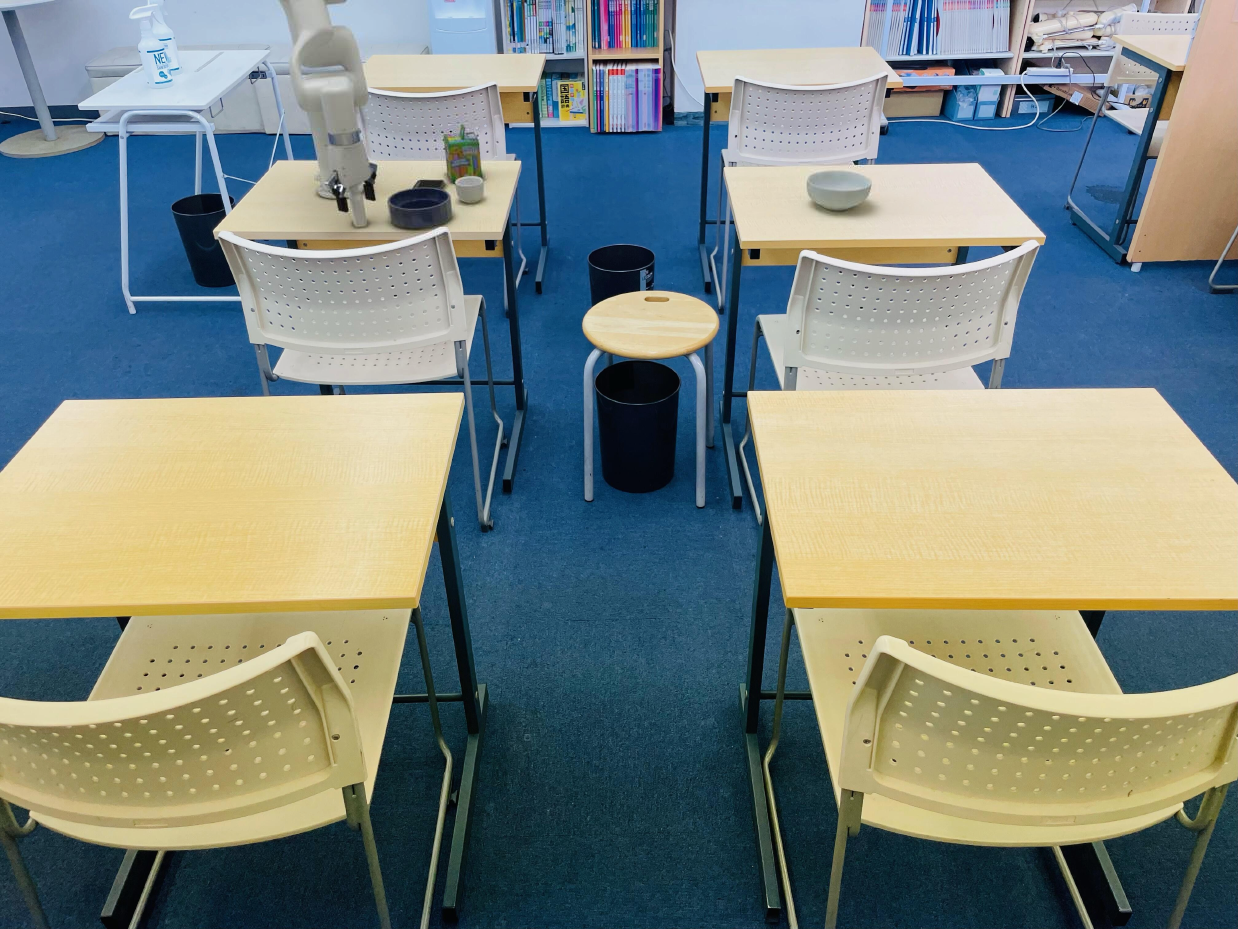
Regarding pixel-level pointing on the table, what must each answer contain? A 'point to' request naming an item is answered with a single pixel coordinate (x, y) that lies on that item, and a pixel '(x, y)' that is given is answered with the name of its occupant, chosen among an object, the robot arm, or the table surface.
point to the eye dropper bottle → (357, 206)
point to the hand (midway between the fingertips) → (357, 205)
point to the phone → (430, 184)
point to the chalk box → (462, 155)
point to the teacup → (470, 189)
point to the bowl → (420, 207)
